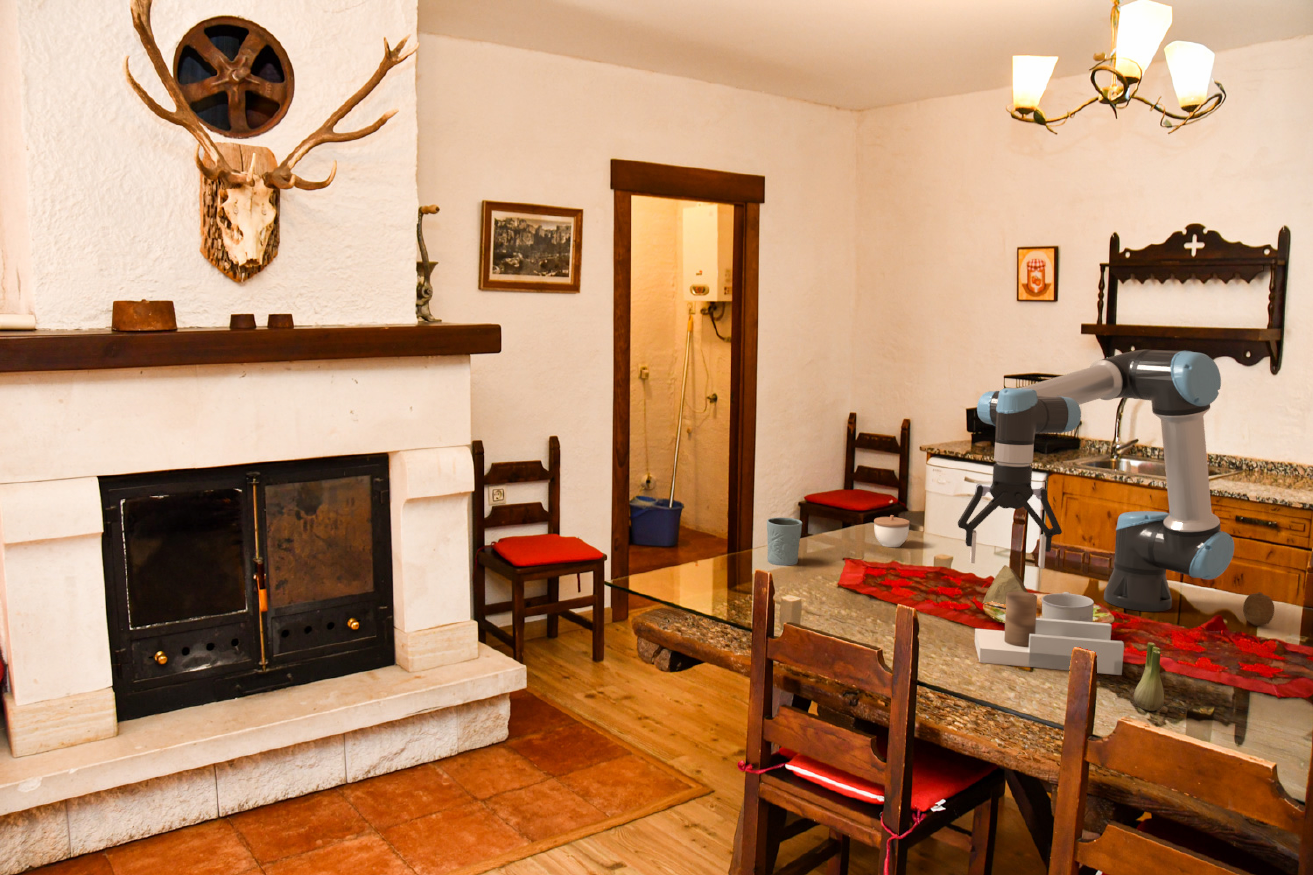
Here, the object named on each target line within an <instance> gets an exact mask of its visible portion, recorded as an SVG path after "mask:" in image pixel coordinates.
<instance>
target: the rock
mask: <svg viewBox="0 0 1313 875" xmlns="http://www.w3.org/2000/svg"><path fill="white" fill-rule="evenodd" d="M1008 592H1027V593H1029V591H1028V590H1027V588H1026V586H1025V584H1024V583H1023V581H1022V579H1020V577H1019V576H1018V575H1017V573H1016V572H1015V571H1014V569H1013V568H1011V567H1009V566H1008V565H1003V566H1002V568H1001V569H1000V570H999V572H998V573H997V574H996V576H995V578H994V579H993V581H992V583H991V584H990V587H988V589H987V592H986V594H985V596H984V598H983V601H982V604H983V603H986V602H991V601H993V602H997V603H1000V604H1006V594H1007V593H1008Z"/></svg>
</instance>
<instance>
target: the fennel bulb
mask: <svg viewBox="0 0 1313 875" xmlns="http://www.w3.org/2000/svg"><path fill="white" fill-rule="evenodd" d="M1146 645H1147V646H1146V657H1145V665H1144V666H1145V667H1144V671H1143V674H1142V676H1141V678H1140V681H1139V682H1138V684H1137V686H1136V687H1135V689H1134V693H1133V699H1134V702H1135V704H1136V705H1137V707H1139V708H1140V709H1142V710H1145V711H1150V712H1155V711H1158V710H1159V711H1160V710H1161V709H1162V708H1163V706H1164V702H1165V701H1164V700H1165V694H1164V693H1165V692H1164V687H1163V683H1162V679H1161V676H1160V668H1161V667H1160V665H1161V663H1160V662H1161V651H1162V650H1161V649H1160V648H1159V647H1157V646H1156V643H1154V642H1147V644H1146Z"/></svg>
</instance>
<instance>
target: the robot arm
mask: <svg viewBox="0 0 1313 875" xmlns="http://www.w3.org/2000/svg"><path fill="white" fill-rule="evenodd" d="M1221 378H1222V377H1221V372H1220V369H1219V366H1218V365H1217V363H1216V362H1215V360H1214V359H1212V358H1211V357H1210V356H1209V355H1207V354H1205V353H1202V352H1196V351H1195V352H1194V351H1191V350H1159V349H1158V350H1157V349H1138V350H1131V351H1129V352H1128V351H1127V352H1123V353H1120V354H1115V355H1112V356H1109V357H1107V358H1102V359H1099V360H1097V361H1094V362H1093V363H1091V365H1090V366H1089V367H1087V368H1084V369H1081V370H1076V371H1074V372H1070V373H1067V374H1064V375H1063V374H1062V375H1060V376H1059V375H1058V376H1056V377H1053V378H1050V379H1046V380H1042V381H1039V382H1036V383H1032V384H1029V385H1025V386H1021V387H1005V388H1002V389H1001V390H994V391H993V390H992V391H986V392H984V393H982V394H981V396H980V397H979V399H978V401H977V405H976V411H977V416H978V418H979V419H980V421H981V422H983V423H984V424H987V425H992V426H994V427H995V439H994V440H995V442H994V452H993V453H994V454H993V455H994V456H993V461H995V463H994V464H993V468H992V469H993V470H992V483H991V485H990V486H986V485H982V484H980V483H977V484H976V486H975V491H974V494H973V496H972V497H971V500H970V502H969V503H968V504H967V506H966V508H965V510H964V511H963V513H962V514H961V516H960V517H959V519H958V521H957V526H958V528H959V529H962V530H965V545H966V547H970V552H969V553H970V554H969V557H970V558H969V562H970V563H971V564H975V563H976V548H977V535H978V533H977V531H976V530H975V529H976V528H977V527H978V526H980V525H981V523H982V522H984V521H985V520H986V518H987V517H989V515H991V514H992V512H994V511H995V510H997V509H998V508H999V507H1000V508H1002V509H1014V510H1019V509H1021V508H1024V510H1025V511H1026V513H1028V515H1029V516H1030V517H1031V518H1032V520H1033V521H1034V523H1036V525H1037V526H1038V528H1040V529H1041V530H1042V532H1043V533H1044V534H1040V536H1039V551H1038V563H1037V564H1038V567H1039V569H1045V563H1046V562H1045V561H1046V560H1045V559H1046V553H1050V552H1051V551H1052V541H1053V540H1052V539H1053V537H1054V536H1057V535H1061V534H1062V533H1063V530H1062V528H1061V526H1060V524H1059V522H1058V519H1057V517H1056V514H1055V513H1054V511H1053V508H1052V506H1051V504H1050V502H1049V496H1048V490H1047V489H1046V488H1045V487H1040V488H1032V479H1033V477H1032V476H1033V466H1032V465H1031V464H1032V463H1033V461H1034V448H1035V447H1034V445H1035V444H1034V443H1035V436H1036V435H1037V434H1063V433H1068V432H1072V431H1074V430H1076V429H1077V427H1078V426H1079V424H1080V422H1081V419H1082V418H1081V417H1082V410H1081V407H1080V405H1083V404H1086V403H1089V402H1093V401H1096V400H1099V399H1100V400H1104V401H1110V400H1114V399H1120V398H1122V399H1136V400H1144V401H1151V411H1152V414H1153V415H1154V416H1156V417H1157V418H1159V420H1160V423H1161V436H1162V447H1163V456H1164V467H1165V468H1164V469H1165V477H1166V487H1167V490H1166V491H1167V500H1168V510H1169V512H1165V511H1154V510H1153V511H1152V510H1151V511H1150V510H1148V511H1147V510H1145V511H1141V510H1139V511H1138V510H1137V511H1129V512H1123V513H1121V514H1120V515H1119V516H1118V519H1117V524H1116V528H1115V544H1114V548H1115V549H1114V564H1113V571H1112V573H1111V575H1110V577H1109V579H1108V581H1107V584H1106V585H1105V588H1104V594H1103V600H1104V601H1105V602H1106V603H1108V604H1110V605H1113V606H1116V607H1118V608H1121V609H1122V608H1123V609H1127V610H1133V611H1139V612H1164V611H1169V610H1170V609H1172V603H1173V601H1172V600H1173V598H1172V594H1171V591H1170V587H1169V583H1168V579H1167V571H1171V572H1175V573H1179V574H1183V575H1186V576H1189V577H1191V578H1194V579H1196V578H1197V579H1202V580H1214V579H1217V578H1218V577H1219V576H1221V575H1222V574H1223V573H1224V572H1225V571H1226V570H1227V568H1228V567H1229V565H1230V563H1231V562H1232V559H1233V557H1234V553H1235V542H1234V538H1233V537H1232V536H1231V534H1229V533H1227V532H1225V531H1222V530H1221V520H1220V517H1218V515H1216V514H1214V513H1213V512H1212V503H1211V502H1212V501H1211V491H1210V490H1211V489H1210V488H1211V487H1210V478H1209V468H1208V455H1207V454H1208V452H1207V444H1206V443H1207V442H1206V431H1205V423H1204V422H1205V420H1204V416H1205V415H1206V413H1208V412H1209V411H1210V410H1211V404H1212V403H1213V402H1215V401H1216V399H1217V398H1218V396H1219V394H1220V393H1219V390H1220V389H1221V385H1222V379H1221ZM988 493H990V495H991V497H992V499H991V500H990V501H989V502H988V504H987V505H986V506H985V507H984V508H983V509H981V510H980V511H979V513H978V514H976V515H975V516H974V518H973V519H971V520H970V518H971V516H972V515H973V513H974V511H975V510H976V508H977V506H978V504H979V503H980V502H981V500H982V497H985V496H986V495H987V494H988ZM1033 495H1034V496H1035V498H1036V499H1038V500H1040V503H1041V505H1042V508H1043V510H1044V512H1045V513H1046V516H1047V518H1048V521H1049V523H1050V525H1051V527H1052V528H1049V527H1048V526H1047V525H1046V523H1045V522H1044V521H1043V519H1042V518H1041V517H1040V516H1039V514H1038V513H1037V512H1036V511H1035V510H1034V508H1033V507H1032V506H1031V504H1030V503H1029V502H1028V501H1029V500H1030V499H1032V497H1033ZM969 520H970V521H969Z"/></svg>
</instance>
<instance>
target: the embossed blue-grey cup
mask: <svg viewBox="0 0 1313 875" xmlns="http://www.w3.org/2000/svg"><path fill="white" fill-rule="evenodd" d="M802 526H803V522H802V521H801V520H800V519H797V518H793V517H782V516H781V517H780V516H779V517H770V518H768V519H767V520H766V532H767V534H766V536H767V544H766V545H767V562H768V563H769V564H772V565H775V566H785V567H786V566H794V565H796V564H797V563H798V561H799V551H800V541H801V535H802Z"/></svg>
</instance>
